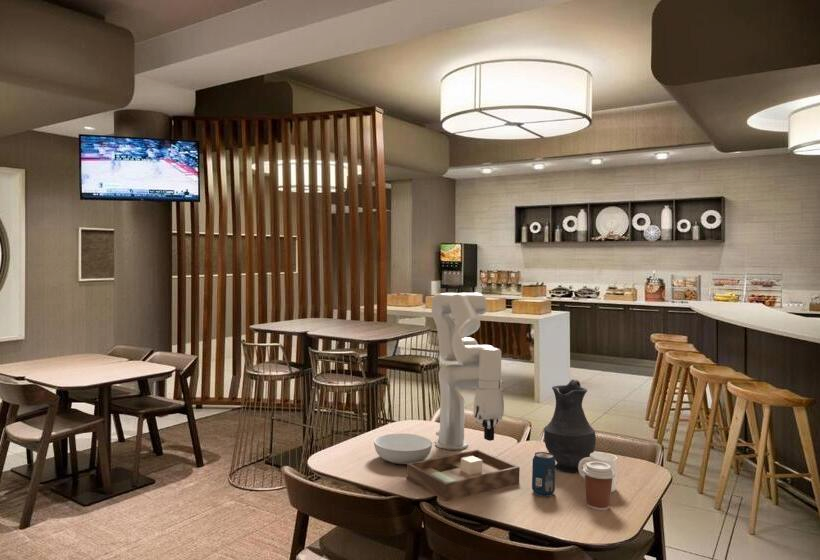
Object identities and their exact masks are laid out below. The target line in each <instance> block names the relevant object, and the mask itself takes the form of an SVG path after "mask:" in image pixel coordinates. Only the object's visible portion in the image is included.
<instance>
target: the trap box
mask: <svg viewBox="0 0 820 560" xmlns="http://www.w3.org/2000/svg"><path fill="white" fill-rule="evenodd" d="M469 456H474V457H477V458H479V459H481V460H482V472H481V473H476V474H472V475H470V474H468V473H465V472H463V471H461V458H464V457H469ZM406 480H408V481H410V482H411V483H413V484H415V485H417V486H419V487H420V488H422V489H424V490H426V491H427V492H429V493H431V494H433V495H434V496H436V497H437V498H439V499H441V500H443V501H445V502H448V501H451V500H456V499H460V498H463V497H468V496H471V495H472V496H473V495H475V494H479V493H483V492H488V491H490V490H491V491H492V490H495V489H498V488H503V487H507V486H510V485H514V484H518V483H520V466H518V465H516V464H513V463H511V462H508V461H506V460H504V459H501V458H499V457H497V456H494V455H492V454H489V453H486V452H484V451H483V450H479V449H475V450H469V451H464V452H459V453H454V454H449V455H443V456H438V457H434V458H430V459H423V460H421V461H418V462H413V463H408V464H406Z"/></svg>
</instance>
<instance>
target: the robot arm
mask: <svg viewBox="0 0 820 560" xmlns="http://www.w3.org/2000/svg"><path fill="white" fill-rule="evenodd" d="M430 306H431V307H430V308H431V315H432V318H433V321H434V323H435V326H436V329H437V331H436V332H437V341H438V347H439V348H438V349H439V356H440V358H441V360H442V361H444V362H449V363H450V362H451V363H452V362H455V363H458V364H447V365H444V366H441V368H439V370H438V383H439V392H440V393H439V395H440V404H439V405H440V408H439V409H440V413H439V430H438V431H435V435H436V436H437V437H438V439H437V440H436V441H435V446H436V447H438V448H439V449H443V450H449V451H450V450H451V451H454V450H455V451H459V450H464V449H466V448H468V446H469V445H468V444H469V442H468V441H467V440H465V417H466V416H465V413H466V412H465V409H466V407H465V406H466V405H465V404H466V403H465V398H464V397H463V396H464V395H462V394H461V392H460V390H470V389H475V395H474V400H473V401H474V402H473V418H475V419H476V420H475V423H476V424H479V425H482V428H483V439H484V440H486V441H490V442H491V441H494V440H495V428H496V427H497V424H498V422H499V423H500V422H501V421H503V416H504V415H505V405H504V404H505V402H504V400H505V399H504V392H503V388H502V384H503V383H504V382H503V380H502V350H501V349H500V348H497V347H494V346H493V345H490V344H479V343H478V341H477V340H476V339H475V338H473V337H469V336H471V335H473V334H474V333H476V332H478V330H479V329H480V327H481V321H480V319H479V316H482V315H485V314H486V312H487V310H488V300H487V298H486V297H485V295H484V294H482V293H481V292H441V293H437V294H435V295H434V296H433V297H432V299H431V304H430ZM451 315H452V316H453V317H452V316H451Z"/></svg>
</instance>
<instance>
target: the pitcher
mask: <svg viewBox="0 0 820 560" xmlns="http://www.w3.org/2000/svg"><path fill="white" fill-rule="evenodd" d="M568 382H569V383H567V384H566V385H564V384H562V385H552V387H551V389H552V390H553V393H554V398H555V408H554V411H553V415H552V418H551V419H550V421H549V422H548V424H547V425H545V427H544V432H543V439H544V440H543V441H544V445H545V448H546V450H547V453H551V454H553V455H554V459H555V470H556V471H559V472H561V473H567V474H580V473H579V470H578V465H579V462H580V460H581V459H583V458H586V457H590V454H591V453H594V452H595V449H596V443H597V442H596V441H597V440H596V431H595V429H594V428H593V427H592V426H591V425H590V422H589V421H588V420H587V416H586V414H585V412H584V408H583V400H584V397H585V395H586V393H587V392H588V390H587V389H586V388H585V387H582V386H581V383H580V381H579V380H578V379H571V380H570V381H568ZM585 463H586V464H587V462H585ZM585 463H584V464H583V465H585ZM583 468H584V466H582V470H583Z"/></svg>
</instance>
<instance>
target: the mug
mask: <svg viewBox="0 0 820 560" xmlns="http://www.w3.org/2000/svg"><path fill="white" fill-rule="evenodd" d="M594 461H595V462H603V463H606V464H609V465H610V466H611V467H612V470H613V471H614V472H615V477H614V478H612V487H611V493H614V492H615V491H616V490H617V482H618V481H617V479H618V478H617V477H618V475H617V473H618V457H617V456H616V455H614V454H612V453H608V452H603V451H602V452H601V451H599V452H598V451H597V452H596V451H594V452H593V453H591V454H590V457H586V458H583V459H581V460H580V462H579V465H578V470H579V473H578V474H579V475H580V477H581V478H583V479H584V480H585V474H584V473H583V470H582V467H584V465H585V464H584V463H585V462H586V463H588V462H594Z"/></svg>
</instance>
